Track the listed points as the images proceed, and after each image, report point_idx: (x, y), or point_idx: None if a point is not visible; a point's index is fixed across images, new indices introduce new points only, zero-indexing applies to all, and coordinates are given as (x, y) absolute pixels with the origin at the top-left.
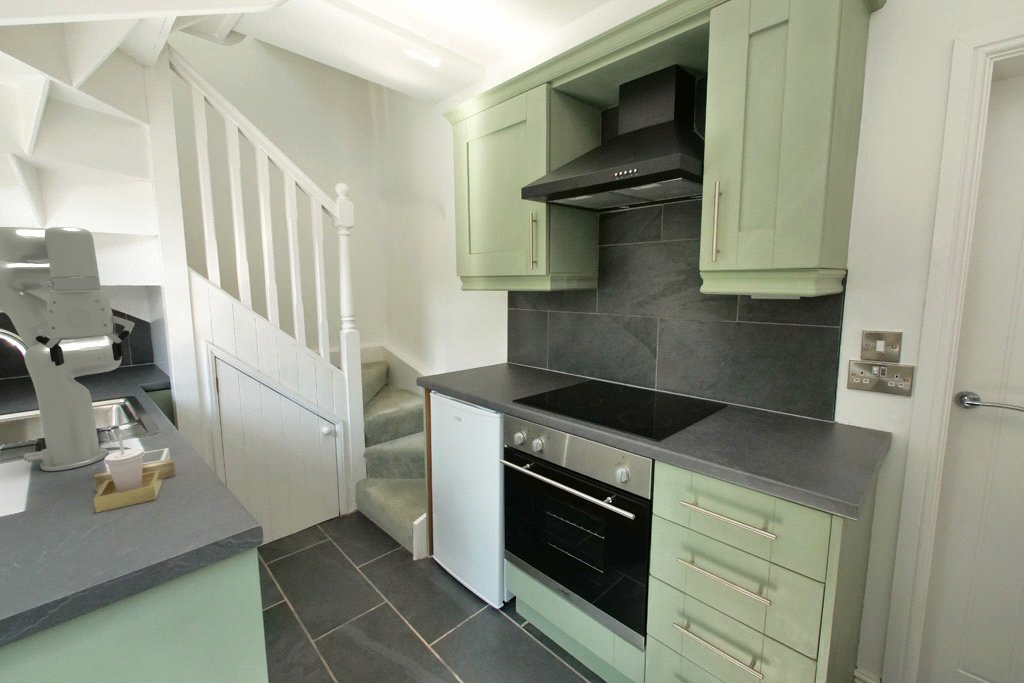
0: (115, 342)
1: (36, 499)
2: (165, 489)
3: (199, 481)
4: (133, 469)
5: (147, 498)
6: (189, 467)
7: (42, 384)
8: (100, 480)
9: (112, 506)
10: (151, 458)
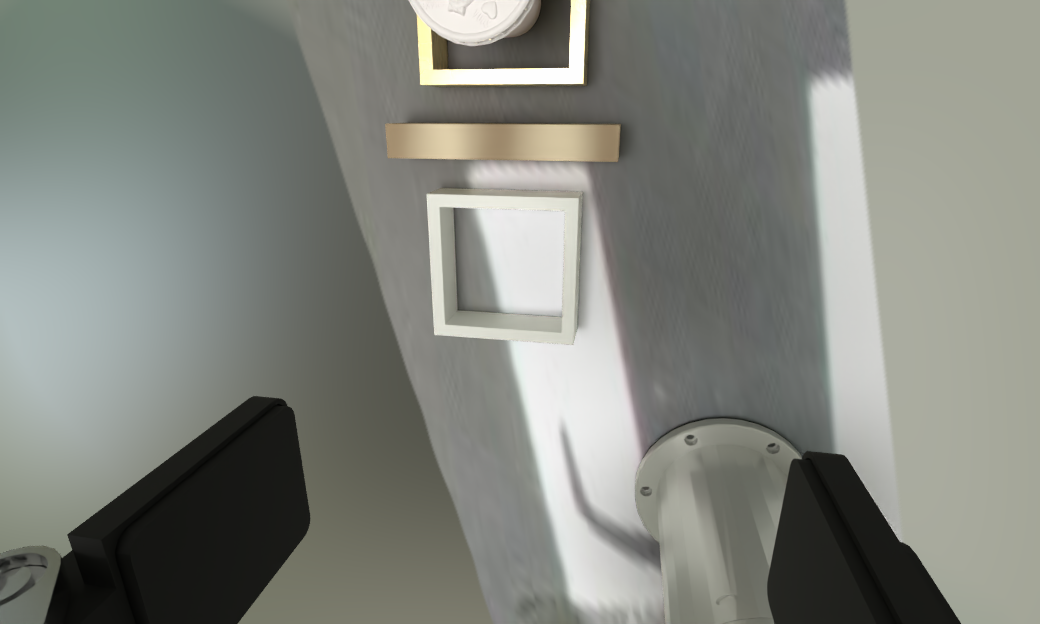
0: (55, 558)
1: (789, 178)
2: None
3: (324, 14)
4: None
5: None
6: (377, 187)
7: None
8: (603, 124)
9: None
10: (491, 318)
